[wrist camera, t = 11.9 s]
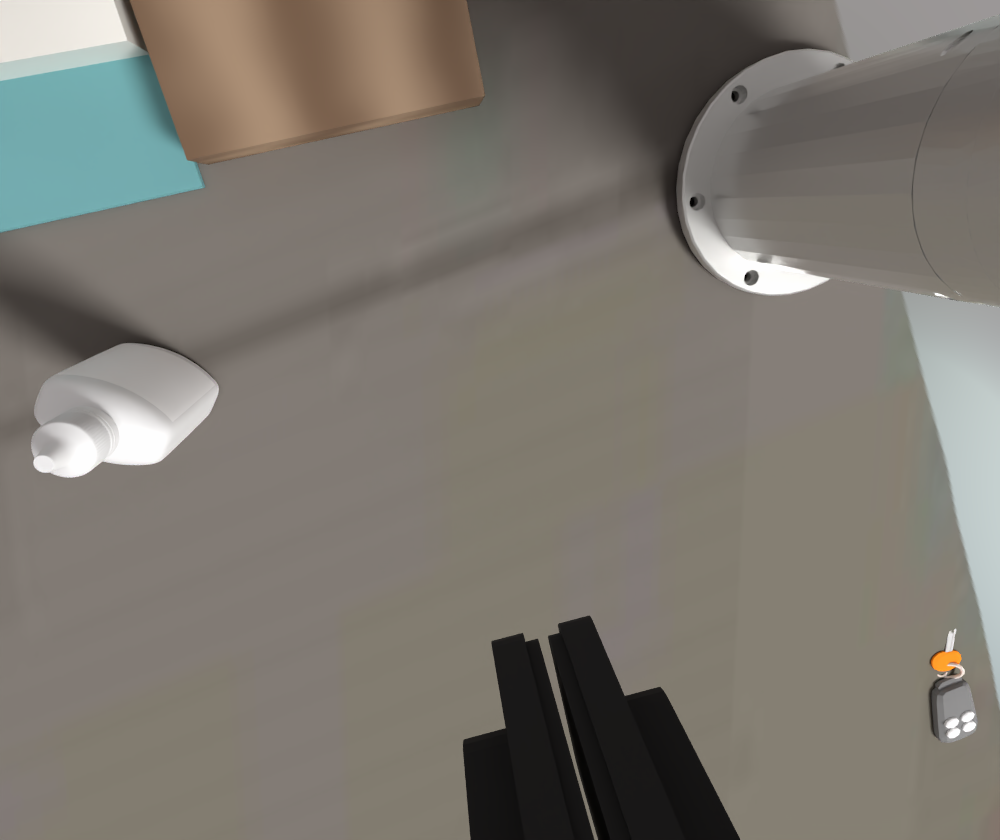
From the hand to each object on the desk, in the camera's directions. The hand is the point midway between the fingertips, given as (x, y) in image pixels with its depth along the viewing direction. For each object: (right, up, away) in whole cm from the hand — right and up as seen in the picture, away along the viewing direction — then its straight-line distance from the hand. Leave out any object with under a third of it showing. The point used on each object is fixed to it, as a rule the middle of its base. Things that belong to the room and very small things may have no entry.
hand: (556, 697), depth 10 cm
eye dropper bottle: (-19, +7, +24) cm, 32 cm away
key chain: (+35, -16, +40) cm, 55 cm away
